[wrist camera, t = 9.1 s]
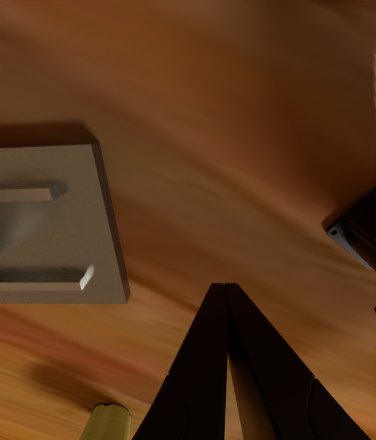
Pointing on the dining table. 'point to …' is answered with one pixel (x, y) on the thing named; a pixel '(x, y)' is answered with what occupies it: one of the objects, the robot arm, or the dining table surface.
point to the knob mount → (58, 227)
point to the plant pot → (108, 424)
